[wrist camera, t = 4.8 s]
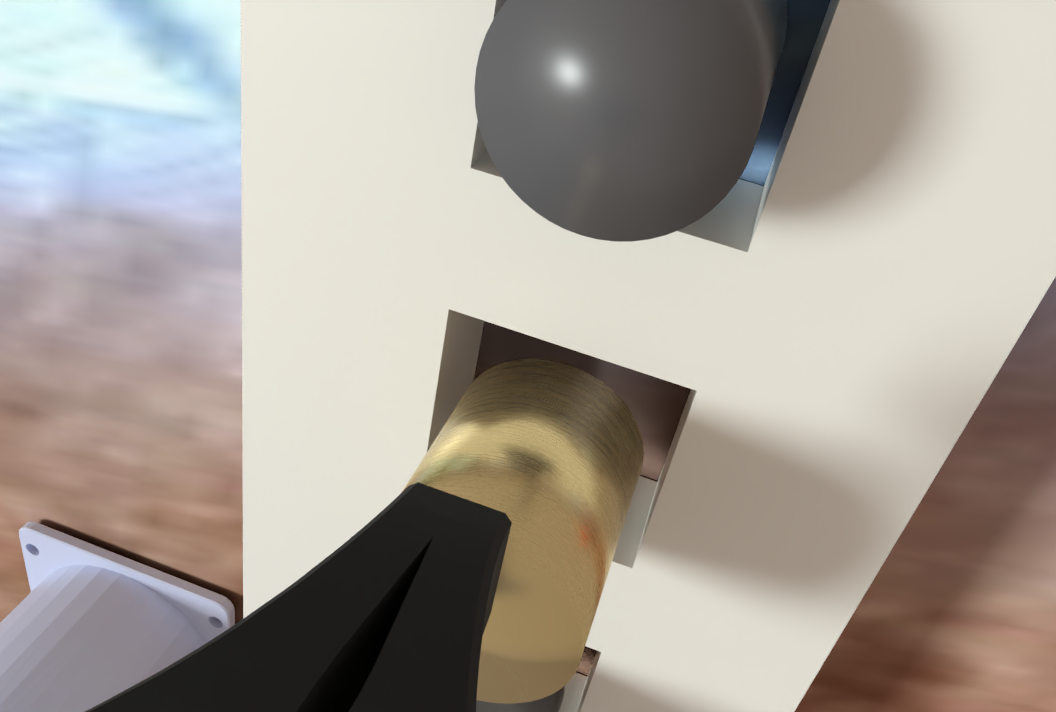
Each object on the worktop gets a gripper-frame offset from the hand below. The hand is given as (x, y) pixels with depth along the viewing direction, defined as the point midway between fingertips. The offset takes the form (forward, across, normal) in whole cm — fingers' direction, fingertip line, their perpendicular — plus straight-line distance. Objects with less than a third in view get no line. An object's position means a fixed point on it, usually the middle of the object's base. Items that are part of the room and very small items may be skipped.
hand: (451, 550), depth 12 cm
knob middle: (+6, 0, +3) cm, 7 cm away
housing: (+9, 0, +3) cm, 10 cm away
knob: (+9, 0, -5) cm, 10 cm away
